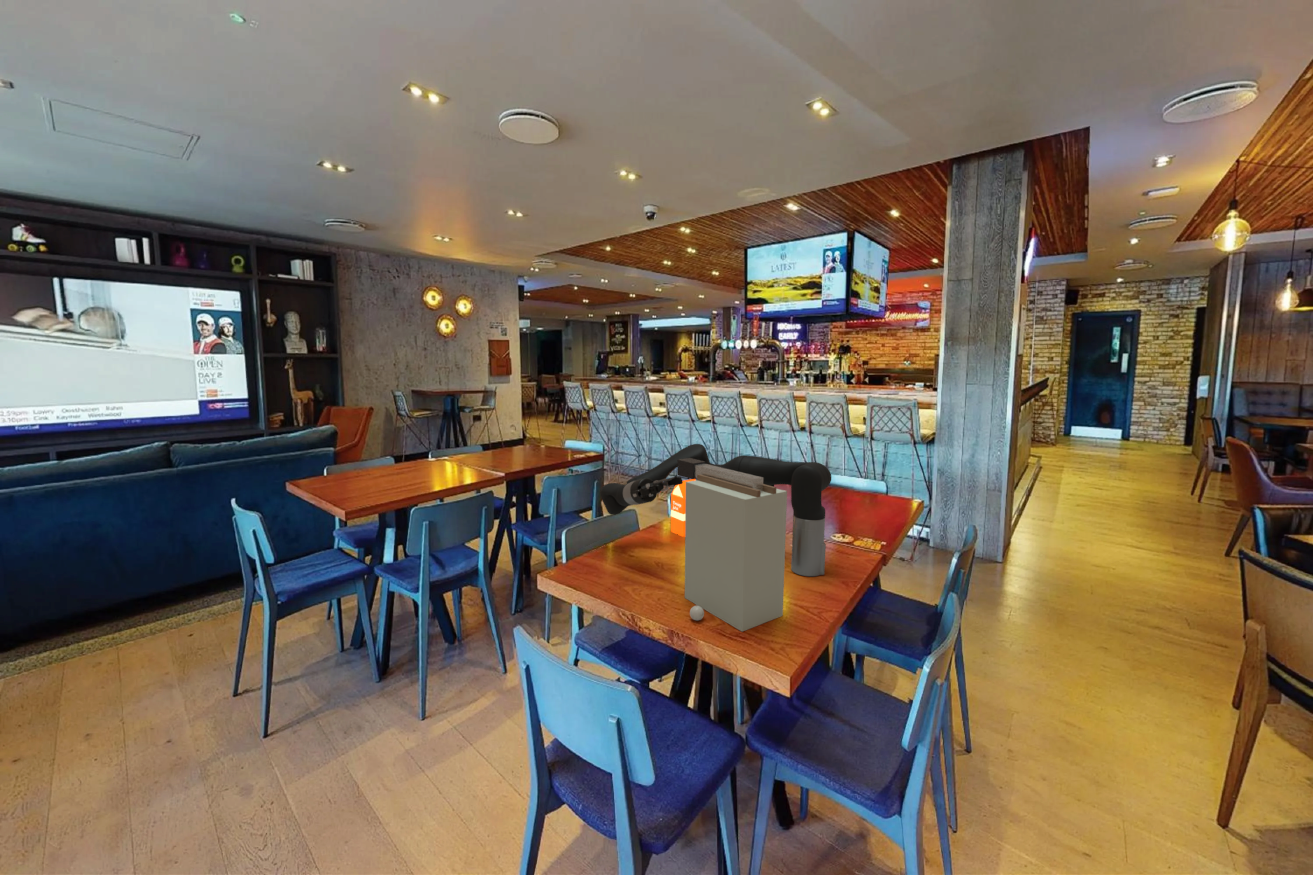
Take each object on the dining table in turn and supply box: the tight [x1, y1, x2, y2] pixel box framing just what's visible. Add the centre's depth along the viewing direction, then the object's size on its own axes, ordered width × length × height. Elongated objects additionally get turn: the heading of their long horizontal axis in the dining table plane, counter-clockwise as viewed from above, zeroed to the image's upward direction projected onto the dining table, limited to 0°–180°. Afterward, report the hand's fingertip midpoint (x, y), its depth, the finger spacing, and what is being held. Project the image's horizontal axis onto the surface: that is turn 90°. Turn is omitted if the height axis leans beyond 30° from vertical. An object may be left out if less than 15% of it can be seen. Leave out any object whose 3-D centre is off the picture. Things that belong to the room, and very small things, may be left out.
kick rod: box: [676, 458, 763, 492], centre depth 137 cm, size 29×4×4 cm, turn 35°
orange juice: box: [670, 479, 697, 538], centre depth 196 cm, size 8×9×20 cm
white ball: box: [689, 605, 705, 621], centre depth 129 cm, size 4×4×4 cm
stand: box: [684, 474, 788, 633], centre depth 135 cm, size 23×14×34 cm, turn 35°
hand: (670, 484), depth 151 cm, fingers open, 8 cm apart
